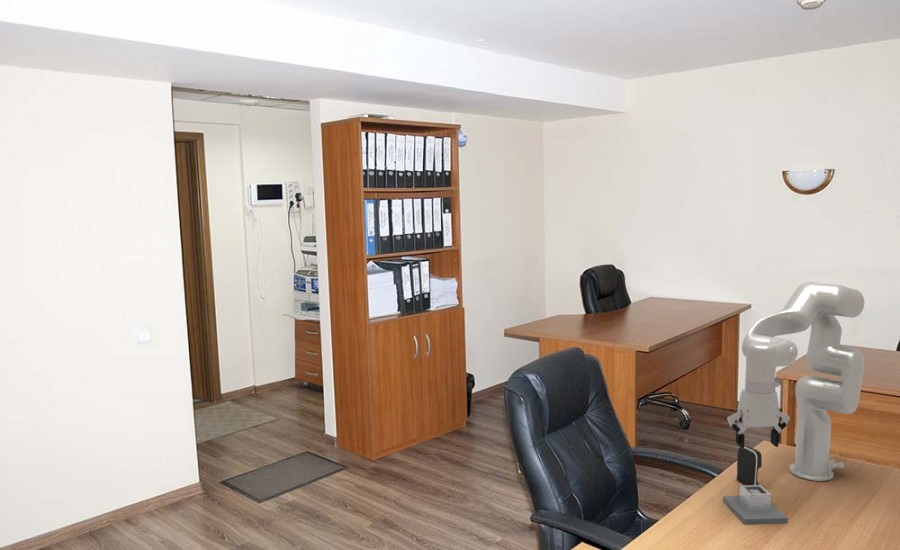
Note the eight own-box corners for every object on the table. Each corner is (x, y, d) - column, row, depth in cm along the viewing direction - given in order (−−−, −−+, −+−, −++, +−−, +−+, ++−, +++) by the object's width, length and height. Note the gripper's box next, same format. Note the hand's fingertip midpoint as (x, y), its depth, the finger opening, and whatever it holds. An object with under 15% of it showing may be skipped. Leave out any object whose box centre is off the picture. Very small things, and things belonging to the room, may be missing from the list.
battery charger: (762, 486, 210) (764, 451, 209) (753, 489, 209) (754, 453, 207) (744, 478, 217) (746, 443, 215) (735, 480, 215) (737, 445, 214)
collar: (759, 501, 198) (760, 485, 197) (770, 511, 192) (770, 494, 191) (739, 502, 197) (740, 485, 197) (748, 512, 192) (749, 495, 191)
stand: (762, 499, 202) (763, 480, 201) (787, 523, 188) (788, 502, 187) (722, 500, 202) (723, 481, 201) (744, 524, 188) (745, 503, 187)
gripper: (783, 381, 194) (780, 439, 196) (723, 383, 193) (721, 441, 196) (797, 389, 186) (794, 449, 189) (735, 391, 186) (732, 452, 188)
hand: (757, 445), depth 192 cm, fingers open, 9 cm apart
